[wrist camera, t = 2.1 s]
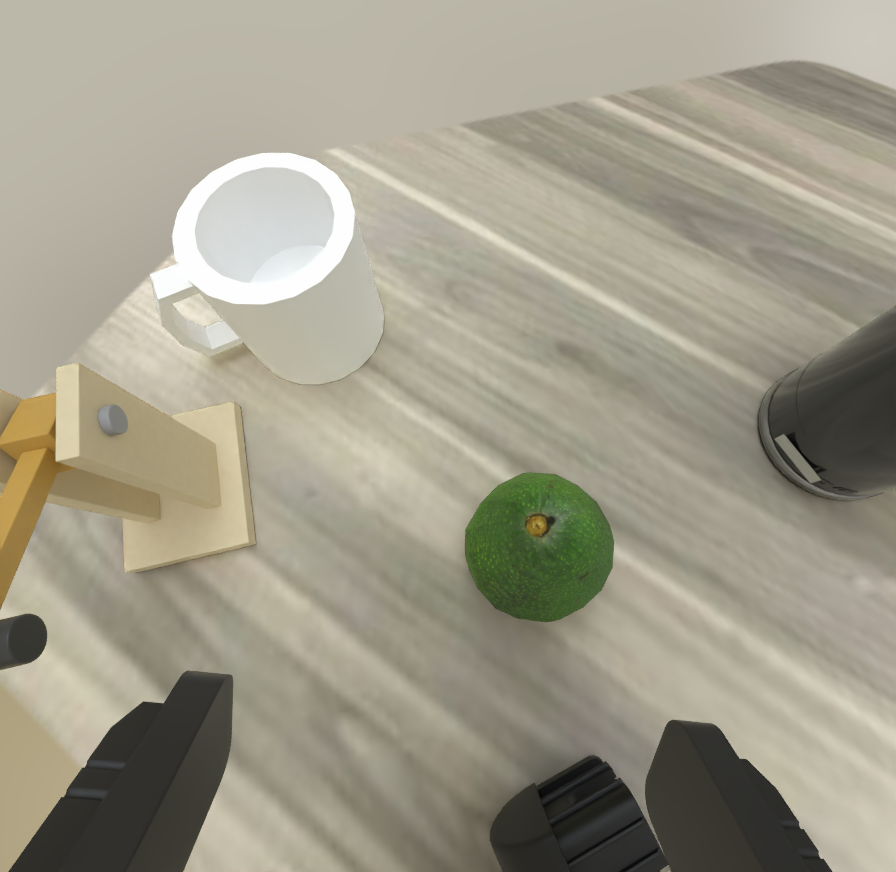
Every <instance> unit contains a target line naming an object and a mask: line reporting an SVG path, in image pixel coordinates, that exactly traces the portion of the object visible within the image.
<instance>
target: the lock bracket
mask: <svg viewBox="0 0 896 872" xmlns="http://www.w3.org/2000/svg"><path fill="white" fill-rule="evenodd" d="M21 400H24V399H22V398H20V397H17V396H15V395H13V394H10V393H8V392H6V391H3V390H1V389H0V437H1V435H2V434H3V432H4V430H5V428H6V426H7V425H8V423H9V421H10V419H11V417H12V415H13V414H14V412H15V410H16V408H17V406H18V405H19V403H20V401H21ZM56 462H59V463H62V464H65V465H68V466H72V467H75V468H78V469H74V470H70V471H65V472H61V473H57V475H56V477H55V480H54V482H53V485H52V487H51V489H50V492H49V494H48V497H47V499H46V501H45V502H48V503H53V504H57V505H62V506H67V507H72V508H76V509H81V510H86V511H91V512H96V513H100V514H105V515H110V516H115V517H119V518H123V544H124V572H133V573H137V572H141V571H145V570H150V569H154V568H158V567H162V566H167V565H171V564H175V563H179V562H183V561H188V560H192V559H196V558H200V557H204V556H209V555H213V554H217V553H221V552H226V551H230V550H234V549H238V548H242V547H247V546H251V545H255V544H256V539H255V530H254V521H253V513H252V504H251V495H250V486H249V477H248V469H247V460H246V451H245V442H244V434H243V425H242V416H241V407H240V406H238V405H237V404H236V403H235V402H228V403H224V404H219V405H215V406H211V407H206V408H202V409H197V410H193V411H188V412H184V413H179V414H175V415H171V416H168V415H166V414H165V413H163V412H161V411H160V410H158V409H156V408H155V407H153V406H151V405H149V404H148V403H146V402H144V401H143V400H141V399H139V398H138V397H136V396H134V395H133V394H131V393H129V392H127V391H126V390H124V389H122V388H121V387H119V386H117V385H116V384H114V383H112V382H110V381H109V380H107V379H105V378H104V377H102V376H100V375H99V374H97V373H95V372H94V371H92V370H90V369H88V368H87V367H85V366H83V365H82V364H80V363H74V364H69V365H65V366H60V367H57V368H56ZM16 464H17V461H16V460H15V459H14V458H12V457H11V456H10V455H9V454H7V453H6V452H5V451H3V450H2V449H1V448H0V493H2V492H3V490H4V488H5V486H6V484H7V482H8V480H9V478H10V476H11V474H12V472H13V470H14V468H15V466H16Z"/></svg>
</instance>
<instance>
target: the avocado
mask: <svg viewBox="0 0 896 872" xmlns="http://www.w3.org/2000/svg"><path fill="white" fill-rule="evenodd" d="M613 550H614V540H613V535H612V531H611V528H610V525H609V523H608V521H607V519H606V518H605V516H604V514H603V512H602V510H601V509H600V507H599V505H598V504H597V502H596V501H595V500H594V499H592V498H591V497H590V496H589V495H588V494H587V493H586V492H584V491H583V490H582V489H581V488H580V487H579V486H578V485H576V484H574V483H572V482H570V481H568V480H566V479H564V478H562V477H560V476H558V475H556V474H544V473H523V474H521V475H518V476H516V477H514V478H512V479H510V480H508V481H506V482H504V483H502V484H500V485H498V486H497V487H496V488H495V489H494V490H493V491H492V492H491V493H490V494H489V495H488V496H487V497H486V498H485V500H484V501H483V502H482V503H481V504H480V505H479V507H478V509H477V511H476V512H475V514H474V516H473V518H472V519H471V521H470V523H469V525H468V526H467V528H466V534H465V555H466V560H467V564H468V567H469V571H470V573H471V575H472V577H473V579H474V581H475V583H476V585H477V587H478V589H479V590H480V591H481V592H482V594H483V595H484V596H485V597H486V598H487V599H488V600H489V601H490V603H491V604H492V605H493V606H494V607H495V608H496V609H498V610H501V611H503V612H505V613H507V614H509V615H511V616H513V617H515V618H518V619H525V620H533V621H541V622H550V621H556V620H559V619H561V618H563V617H565V616H567V615H569V614H571V613H573V612H575V611H577V610H579V609H581V608H583V607H584V606H585V605H586V604H587V603H588V602H589V601H590V600H591V599H592V598H593V597H594V596H595V595H597V594H598V593H599V592H600V591H601V590H602V588H603V586H604V584H605V582H606V580H607V578H608V575H609V573H610V571H611V569H612V566H613Z"/></svg>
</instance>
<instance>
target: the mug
mask: <svg viewBox="0 0 896 872" xmlns="http://www.w3.org/2000/svg"><path fill="white" fill-rule="evenodd" d="M172 239H173V247H174V254H175V259H176V261H177V264H175V265H172V266H170V267H167V268H165V269H162V270H159V271H157V272H154V273H152V274H150V277H151V283H152V289H153V295H154V300H155V304H156V307H157V310H158V314H159V317H160V320H161V323H162V326H163V327H164V328H165V329H166V330H167V331H168V332H169V333H170V334H171V335H172V336H173V337H174V338H176V339H177V340H178V341H179V342H180V343H181V344H182V345H183V346H185V347H188V348H190V349H193V350H195V351H198V352H200V353H202V354H205V355H207V356H210V357H211V356H213V355H215V354H218V353H220V352H223V351H225V350H228V349H230V348H232V347H235V346H237V345H240V344H242V343H244V344H245V345H246V346H247V347H248V348H249V349H250V350H251V351H252V353H253V354H254V355H255V356H256V357H257V358H258V359H259V360H260V362H261V363H262V364H263V365H264V366H265V367H267V368H268V369H269V370H271V371H272V372H273V373H274V374H276V375H277V376H278V377H280V378H282V379H285V380H288V381H291V382H294V383H297V384H315V385H321V384H325V383H328V382H332V381H336V380H340V379H342V378H344V377H346V376H347V375H349V374H351V373H352V372H354V371H356V370H357V369H359V368H361V366H362V365H363V364H364V363H365V362H366V361H367V360H368V359H369V358H370V356H371V355H372V354H373V353H374V352H375V350H376V348H377V345H378V343H379V341H380V339H381V337H382V334H383V325H384V312H383V308H382V305H381V301H380V297H379V294H378V291H377V287H376V284H375V280H374V277H373V273H372V270H371V266H370V263H369V259H368V256H367V252H366V249H365V245H364V242H363V238H362V235H361V231H360V228H359V224H358V221H357V217H356V214H355V210H354V207H353V204H352V200H351V197H350V193H349V191H348V189H347V188H346V187H345V185H344V184H343V183H342V182H341V180H340V179H339V178H338V176H337V175H336V174H335V173H334V172H333V171H331V170H330V169H328V168H326V167H325V166H323V165H322V164H320V163H319V162H317V161H316V160H313V159H309V158H306V157H302V156H299V155H295V154H291V153H261V154H257V155H253V156H248V157H244V158H240V159H236V160H234V161H232V162H231V163H228V164H226V165H224V166H223V167H221V168H219V169H217V170H215V171H213V172H211V173H210V174H209V175H208V176H207V177H206V178H204V179H203V180H202V181H201V182H200V183H199V184H198V185H197V186H195V187H194V188H193V189H192V190H191V192H190V193H189V195H188V196H187V198H186V199H185V201H184V203H183V204H182V206H181V207H180V209H179V211H178V213H177V217H176V221H175V225H174V229H173V233H172ZM197 293H200V294H201V295H202V296H203V298H204V299H205V300H206V301H207V302H208V303H209V304H210V305H211V307H212V308H213V309H214V310H215V311H216V312H217V313H218V314H219V316H220V317H221V318H222V319H223V320H221V321H219V322H217V323H214V324H212V325H209V326H207V327H203V326H201V325H199V324H196V323H194V322H192V321H190V320H188V319H186V318H184V317H183V316H182V315H181V314H180V313H179V311H178V310H177V309H176V308H175V307H174V306H173V304H172V303H175V302H177V301H180V300H182V299H185V298H187V297H190V296H192V295H195V294H197Z"/></svg>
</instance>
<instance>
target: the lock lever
mask: <svg viewBox="0 0 896 872" xmlns="http://www.w3.org/2000/svg"><path fill="white" fill-rule="evenodd" d="M0 448H1V449H2V450H3V451H5V452H6V453H7V454H9V455H10V456H11V457H12V458H14V459H15V460H16V461H17V464H16V466H15V468H14V470H13V472H12V474H11V476H10V478H9V480H8V482H7V484H6V486H5V488H4V490H3V492H2V494H1V496H0V609H1V607H2V604H3V602H4V600H5V597H6V595H7V592H8V590H9V588H10V585H11V583H12V580H13V578H14V576H15V573H16V571H17V568H18V566H19V564H20V561H21V559H22V556H23V554H24V552H25V549H26V547H27V545H28V542H29V540H30V537H31V535H32V533H33V530H34V528H35V525H36V523H37V521H38V518H39V516H40V513H41V511H42V509H43V506H44V504H45V501H46V499H47V497H48V494H49V492H50V489H51V487H52V485H53V482H54V480H55V477H56V475H57V473H61V472H65V471H70V470H74V469H78V468H75V467H72V466H68V465H65V464H62V463H59V462H56V393H52V394H47V395H43V396H38V397H34V398H29V399H25V400H21V401H20V403H19V405H18V406H17V408H16V410H15V412H14V414H13V415H12V417H11V419H10V421H9V423H8V425H7V426H6V428H5V430H4V432H3V434H2V435H1V437H0ZM46 642H47V630H46V626H45V624H44V622H43V621H42V619H41V618H39V617H38V616H36V615H33V614H23V615H19V616H15V617H11V618H6V619H2V620H0V670H3V669H7V668H11V667H15V666H19V665H24V664H28V663H31V662H32V661H34V660H35V659H37V658H38V657H39V656H40V655H41V653H42V652H43V650H44V648H45V646H46Z"/></svg>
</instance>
